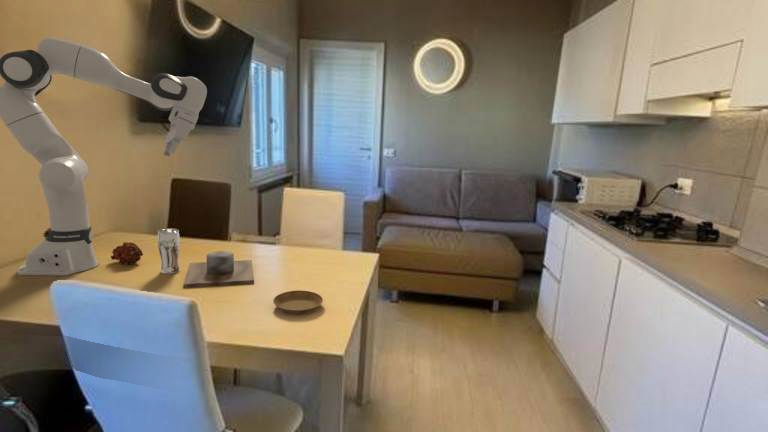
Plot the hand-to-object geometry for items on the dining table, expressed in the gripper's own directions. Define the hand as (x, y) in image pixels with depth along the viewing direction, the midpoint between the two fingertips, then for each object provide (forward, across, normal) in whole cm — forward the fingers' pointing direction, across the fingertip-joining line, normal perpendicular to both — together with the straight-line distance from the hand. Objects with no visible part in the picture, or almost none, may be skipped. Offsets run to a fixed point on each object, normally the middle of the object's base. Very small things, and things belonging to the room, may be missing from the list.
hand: (168, 154), depth 154 cm
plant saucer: (+38, +48, +43) cm, 75 cm away
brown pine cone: (+41, -16, +3) cm, 44 cm away
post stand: (+35, +10, +29) cm, 47 cm away
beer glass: (+39, 0, +15) cm, 42 cm away
